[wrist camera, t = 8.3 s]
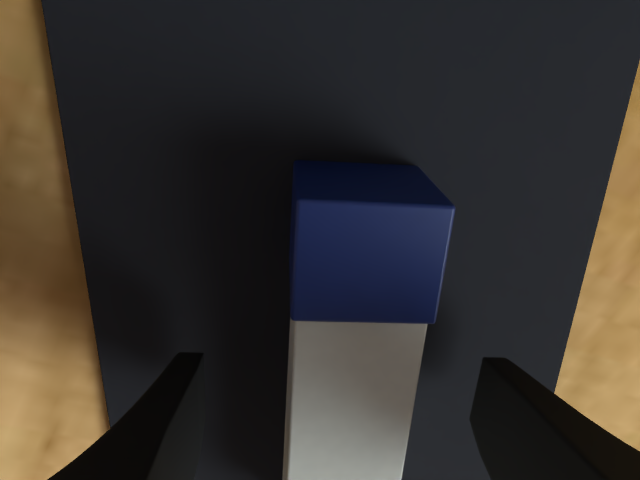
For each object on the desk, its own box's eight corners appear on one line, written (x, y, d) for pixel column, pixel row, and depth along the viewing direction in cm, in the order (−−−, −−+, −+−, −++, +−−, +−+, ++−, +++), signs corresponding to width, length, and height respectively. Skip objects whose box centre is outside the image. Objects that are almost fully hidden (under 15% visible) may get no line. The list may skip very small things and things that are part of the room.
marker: (370, 512, 17) (386, 609, 14) (277, 514, 16) (275, 612, 14) (419, 164, 12) (457, 206, 10) (293, 158, 12) (296, 199, 9)
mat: (138, 584, 18) (136, 592, 18) (40, -36, 10) (34, -37, 10) (503, 569, 19) (507, 577, 18) (649, -10, 11) (658, -11, 11)
